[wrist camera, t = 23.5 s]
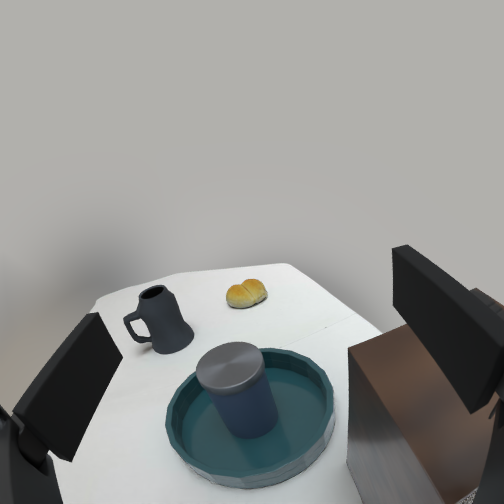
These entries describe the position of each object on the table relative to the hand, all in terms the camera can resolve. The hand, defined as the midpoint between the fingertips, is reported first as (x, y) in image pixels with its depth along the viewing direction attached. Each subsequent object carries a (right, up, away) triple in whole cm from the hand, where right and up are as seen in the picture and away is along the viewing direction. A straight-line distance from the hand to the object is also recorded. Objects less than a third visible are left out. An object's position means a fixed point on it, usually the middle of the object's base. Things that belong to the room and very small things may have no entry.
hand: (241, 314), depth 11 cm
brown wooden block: (+17, -20, +5) cm, 27 cm away
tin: (0, -18, +20) cm, 27 cm away
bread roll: (0, -8, +51) cm, 52 cm away
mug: (-17, -16, +41) cm, 47 cm away
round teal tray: (+1, -19, +20) cm, 27 cm away
